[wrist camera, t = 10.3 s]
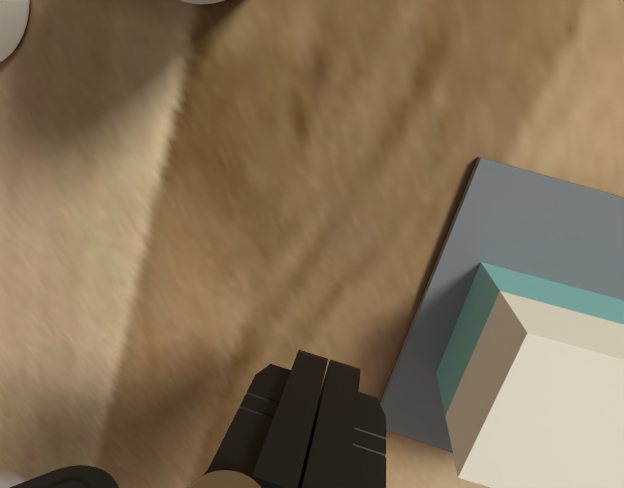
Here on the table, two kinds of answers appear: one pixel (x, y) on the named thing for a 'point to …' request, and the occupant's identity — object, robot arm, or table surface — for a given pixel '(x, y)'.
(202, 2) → the supplement bottle
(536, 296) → the two-tone cube
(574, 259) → the slate rubber mat
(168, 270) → the table surface
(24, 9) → the cosmetic bottle
